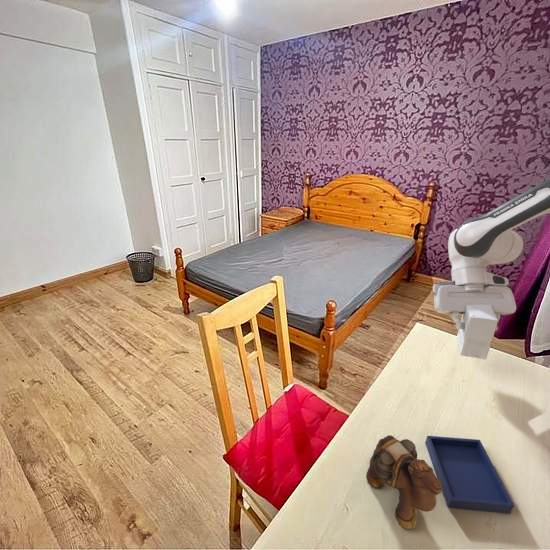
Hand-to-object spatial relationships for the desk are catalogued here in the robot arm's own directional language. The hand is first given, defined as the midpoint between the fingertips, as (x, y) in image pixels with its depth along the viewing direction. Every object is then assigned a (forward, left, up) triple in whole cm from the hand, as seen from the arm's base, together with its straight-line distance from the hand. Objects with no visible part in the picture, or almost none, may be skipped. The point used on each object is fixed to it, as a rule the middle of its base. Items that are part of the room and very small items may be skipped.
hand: (477, 329), depth 84 cm
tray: (+13, +31, -14) cm, 37 cm away
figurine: (+28, +36, -15) cm, 48 cm away
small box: (0, 0, -7) cm, 7 cm away
